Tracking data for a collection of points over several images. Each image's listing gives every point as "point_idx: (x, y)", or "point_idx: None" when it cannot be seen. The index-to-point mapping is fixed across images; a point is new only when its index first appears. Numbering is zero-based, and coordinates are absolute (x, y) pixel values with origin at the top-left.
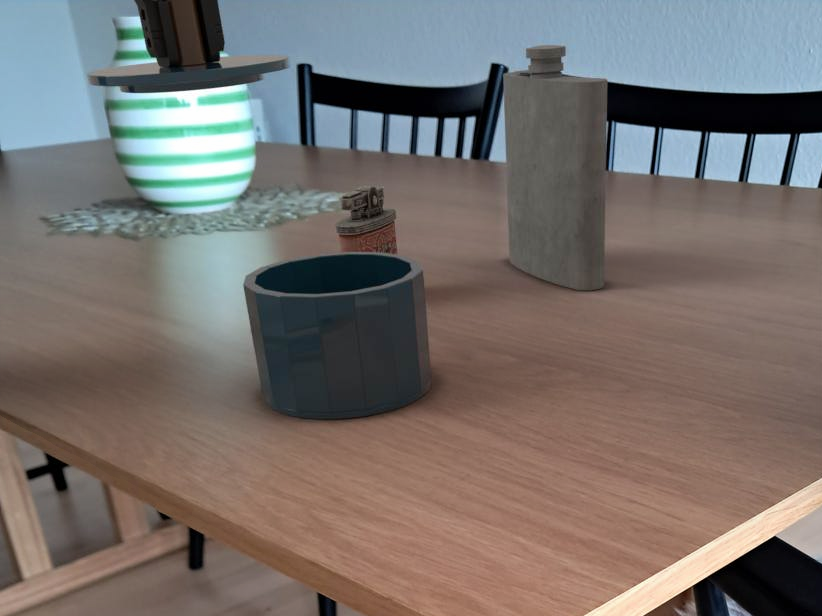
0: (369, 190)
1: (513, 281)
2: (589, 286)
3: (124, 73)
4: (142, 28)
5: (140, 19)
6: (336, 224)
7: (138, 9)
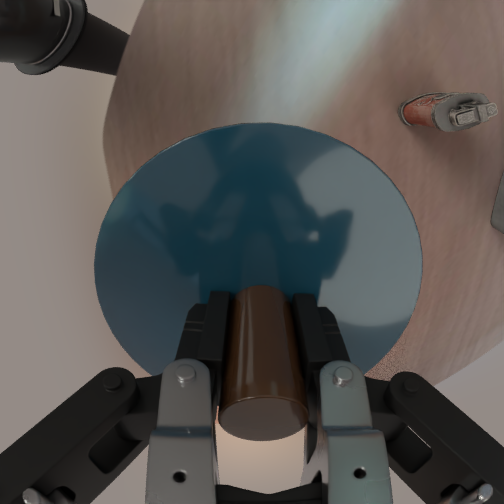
0: (481, 121)
1: (493, 167)
2: (493, 226)
3: (137, 332)
4: (181, 335)
5: (178, 346)
6: (436, 109)
7: (175, 359)
